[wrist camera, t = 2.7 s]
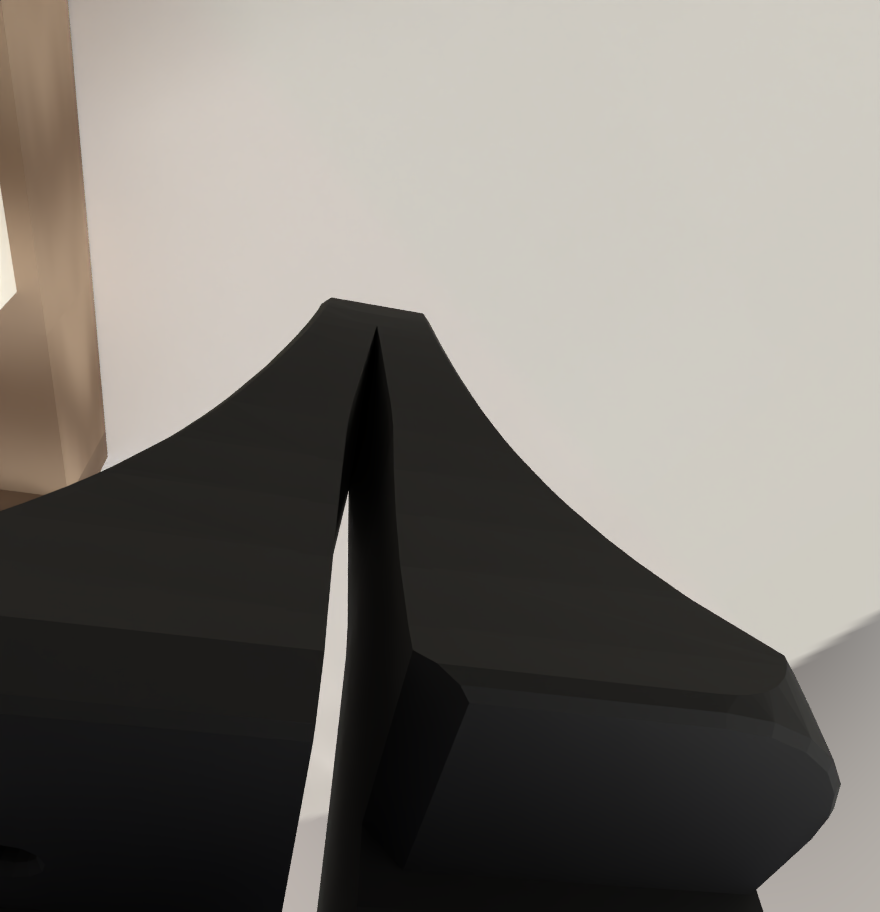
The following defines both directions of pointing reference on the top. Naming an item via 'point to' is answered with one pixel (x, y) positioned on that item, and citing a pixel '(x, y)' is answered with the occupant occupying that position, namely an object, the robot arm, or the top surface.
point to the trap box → (45, 264)
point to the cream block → (5, 262)
